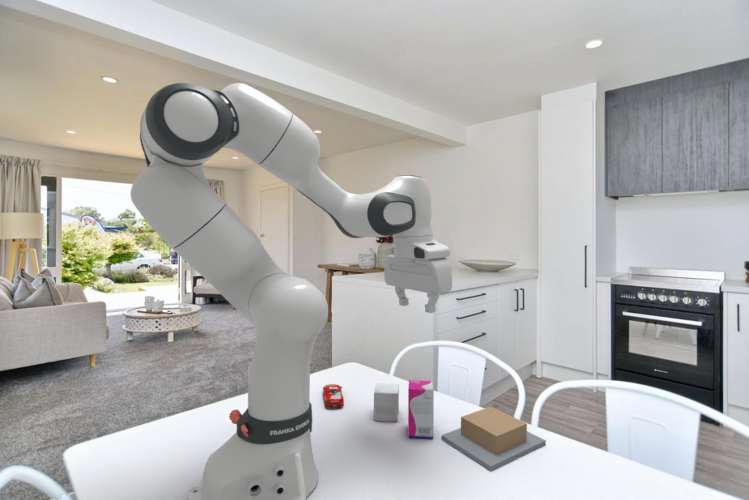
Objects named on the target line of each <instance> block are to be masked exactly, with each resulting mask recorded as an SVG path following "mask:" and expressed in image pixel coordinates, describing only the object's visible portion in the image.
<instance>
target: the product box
mask: <svg viewBox="0 0 749 500" xmlns="http://www.w3.org/2000/svg"><path fill="white" fill-rule="evenodd" d="M399 401H400V384H399V383H376V385H375V389H374V392H373V421H374V422H375V421H376V422H378V421H379V422H393V423H394V422H395V423H397V422H398V418H399V412H400V404H399V403H400V402H399Z"/></svg>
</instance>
